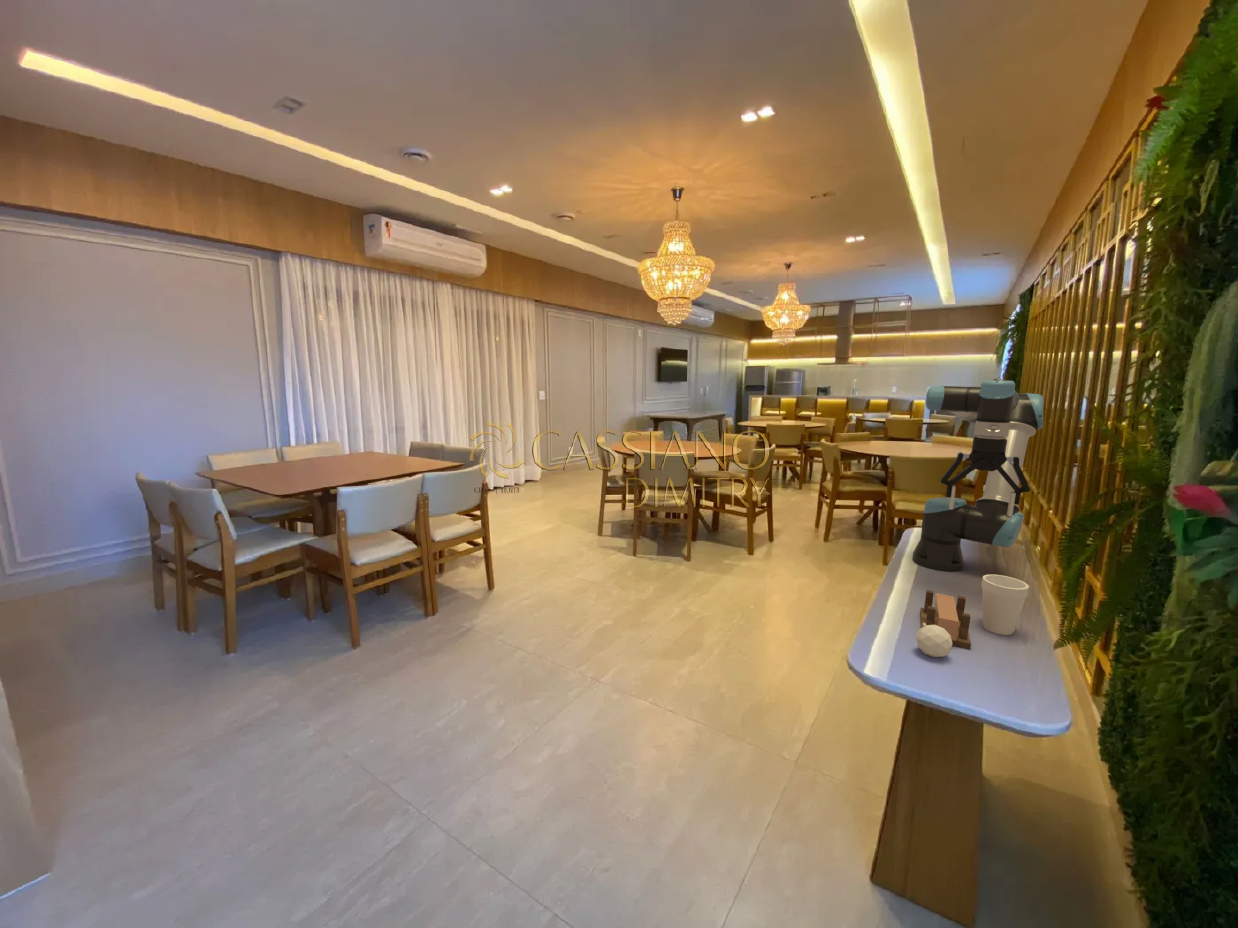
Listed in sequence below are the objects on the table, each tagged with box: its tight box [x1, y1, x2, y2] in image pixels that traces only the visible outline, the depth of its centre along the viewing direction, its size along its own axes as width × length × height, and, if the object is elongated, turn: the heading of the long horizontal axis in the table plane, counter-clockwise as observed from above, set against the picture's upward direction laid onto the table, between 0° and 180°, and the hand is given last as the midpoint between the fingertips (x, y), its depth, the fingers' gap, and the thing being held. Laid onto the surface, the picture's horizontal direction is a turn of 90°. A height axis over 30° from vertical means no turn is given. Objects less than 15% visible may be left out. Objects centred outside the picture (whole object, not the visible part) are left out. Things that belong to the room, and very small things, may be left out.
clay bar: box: [933, 592, 959, 641], centre depth 128 cm, size 16×4×5 cm, turn 150°
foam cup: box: [981, 574, 1030, 636], centre depth 128 cm, size 10×9×13 cm
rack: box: [919, 589, 972, 651], centre depth 128 cm, size 16×10×8 cm, turn 150°
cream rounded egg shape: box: [915, 623, 953, 658], centre depth 117 cm, size 7×7×8 cm
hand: (979, 511), depth 141 cm, fingers open, 13 cm apart
